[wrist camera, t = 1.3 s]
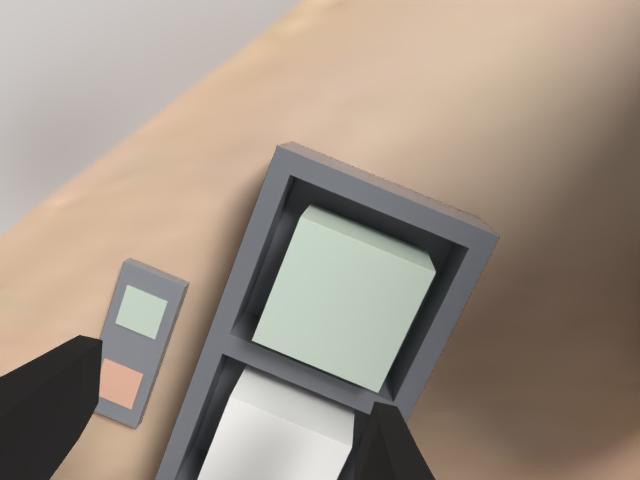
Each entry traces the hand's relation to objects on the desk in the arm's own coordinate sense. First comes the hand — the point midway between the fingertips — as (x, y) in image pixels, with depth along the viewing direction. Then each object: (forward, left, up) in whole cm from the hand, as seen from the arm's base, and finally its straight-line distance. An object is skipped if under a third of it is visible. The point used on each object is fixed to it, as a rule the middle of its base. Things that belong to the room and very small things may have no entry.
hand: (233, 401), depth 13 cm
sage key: (-2, -1, -8) cm, 9 cm away
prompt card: (+6, +6, -10) cm, 13 cm away
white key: (-2, +6, -8) cm, 10 cm away
